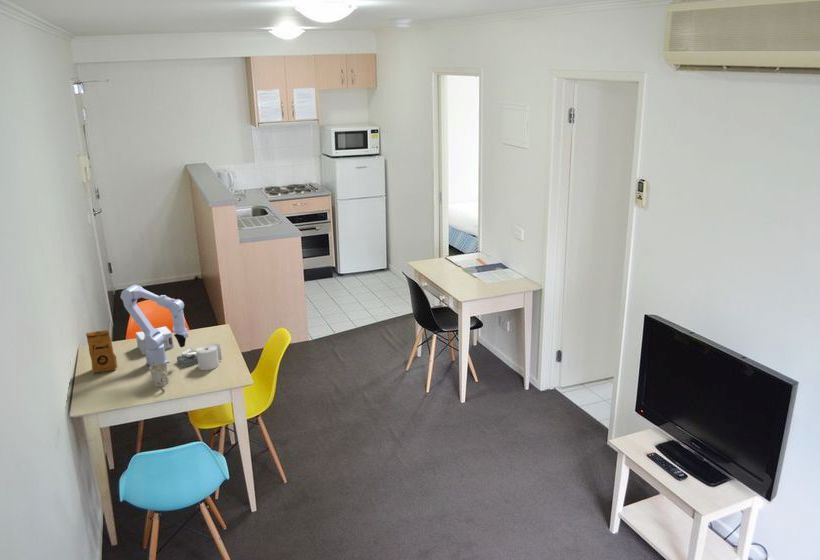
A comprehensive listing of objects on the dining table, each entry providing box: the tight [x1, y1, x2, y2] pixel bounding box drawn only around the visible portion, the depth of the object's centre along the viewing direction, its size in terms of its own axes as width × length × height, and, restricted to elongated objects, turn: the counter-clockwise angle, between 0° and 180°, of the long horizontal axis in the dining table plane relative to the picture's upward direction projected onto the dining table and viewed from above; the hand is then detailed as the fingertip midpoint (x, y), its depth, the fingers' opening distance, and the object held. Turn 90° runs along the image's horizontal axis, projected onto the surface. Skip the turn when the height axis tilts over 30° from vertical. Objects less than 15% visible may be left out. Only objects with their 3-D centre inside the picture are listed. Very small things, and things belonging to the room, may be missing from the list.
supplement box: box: [135, 325, 175, 356], centre depth 371 cm, size 17×13×9 cm
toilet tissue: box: [195, 343, 223, 371], centre depth 347 cm, size 11×12×10 cm
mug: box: [149, 363, 170, 388], centre depth 326 cm, size 8×13×10 cm, turn 51°
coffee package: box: [85, 329, 118, 374], centre depth 343 cm, size 10×12×22 cm
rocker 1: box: [180, 347, 195, 356], centre depth 354 cm, size 6×3×1 cm, turn 133°
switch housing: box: [176, 350, 198, 368], centre depth 353 cm, size 11×9×5 cm
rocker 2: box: [185, 351, 197, 357], centre depth 351 cm, size 6×3×1 cm, turn 134°
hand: (182, 346), depth 348 cm, fingers closed
